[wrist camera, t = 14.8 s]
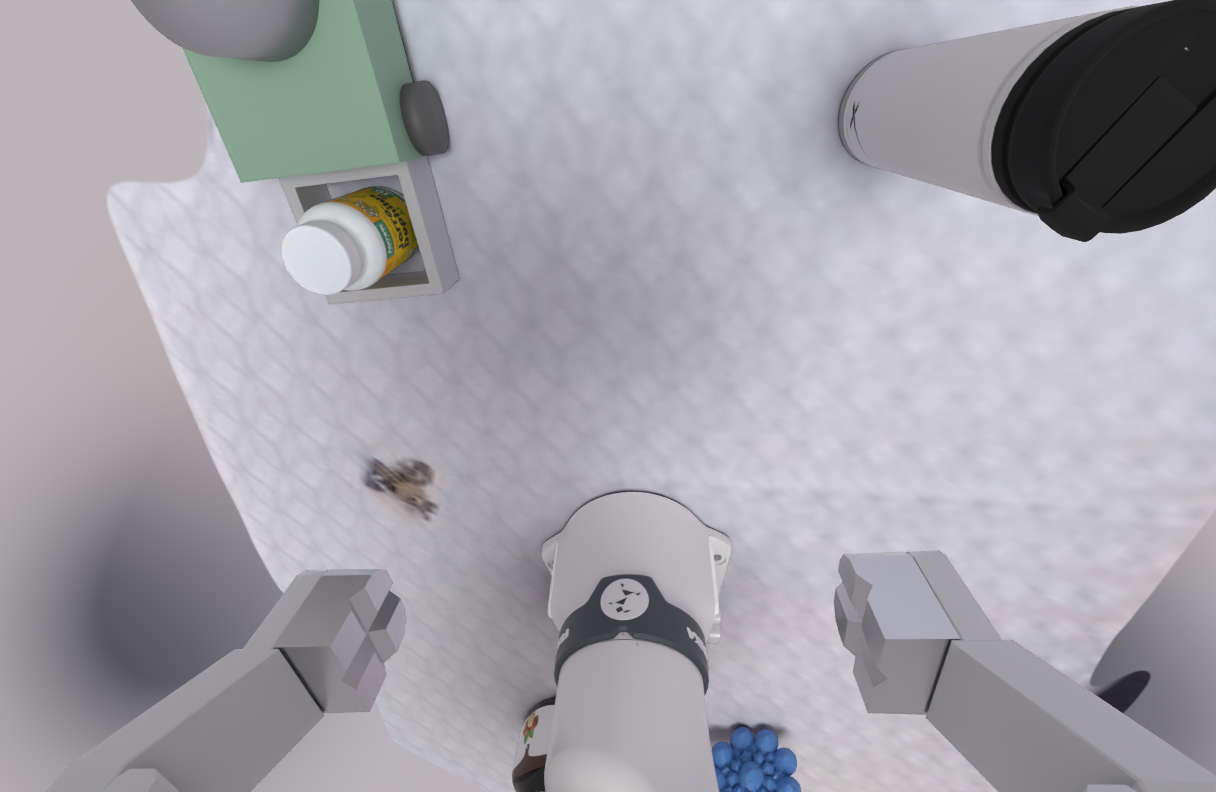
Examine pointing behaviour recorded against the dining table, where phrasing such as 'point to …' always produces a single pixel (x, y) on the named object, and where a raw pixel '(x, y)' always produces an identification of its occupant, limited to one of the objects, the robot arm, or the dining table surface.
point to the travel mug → (1053, 116)
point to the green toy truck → (320, 108)
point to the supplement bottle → (350, 241)
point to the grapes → (754, 763)
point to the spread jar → (533, 749)
